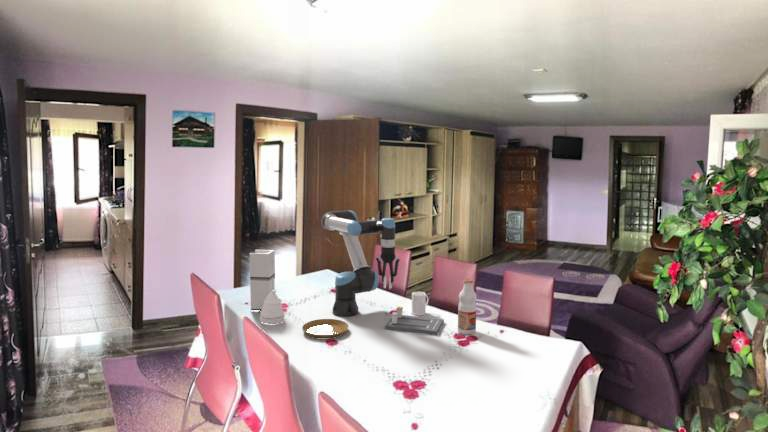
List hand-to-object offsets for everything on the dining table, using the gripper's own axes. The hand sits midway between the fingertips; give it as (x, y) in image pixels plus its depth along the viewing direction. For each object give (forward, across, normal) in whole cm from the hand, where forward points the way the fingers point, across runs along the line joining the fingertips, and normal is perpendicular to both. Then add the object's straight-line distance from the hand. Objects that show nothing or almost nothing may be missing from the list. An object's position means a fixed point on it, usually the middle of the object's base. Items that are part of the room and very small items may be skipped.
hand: (387, 287), depth 292 cm
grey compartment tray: (+19, +17, -5) cm, 26 cm away
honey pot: (+19, -60, -22) cm, 66 cm away
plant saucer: (+19, -26, -28) cm, 43 cm away
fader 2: (+16, +7, 0) cm, 17 cm away
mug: (+19, +15, +18) cm, 30 cm away
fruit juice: (+19, +45, -5) cm, 49 cm away
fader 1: (+16, +7, -10) cm, 20 cm away
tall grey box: (+19, -75, -5) cm, 77 cm away
